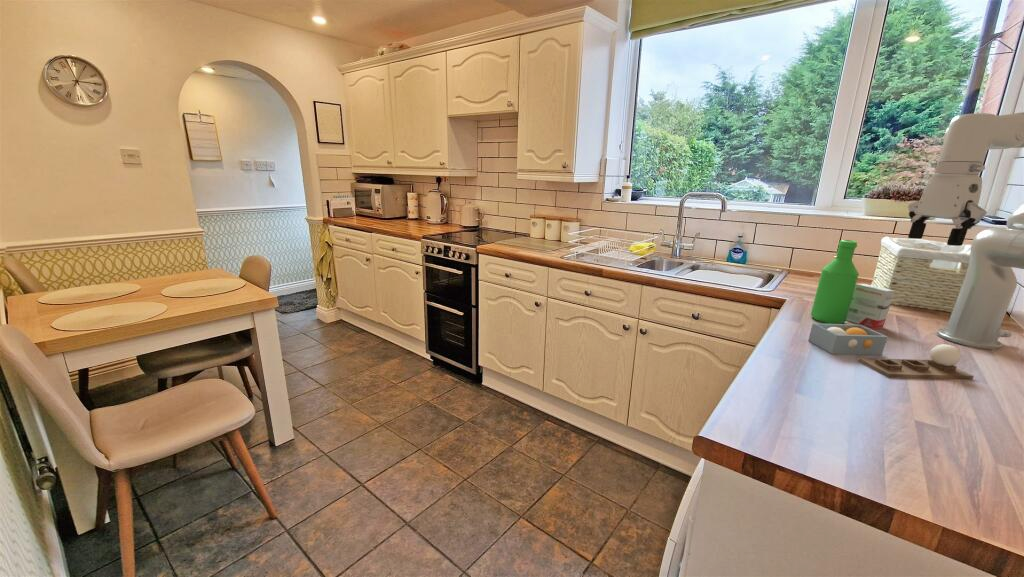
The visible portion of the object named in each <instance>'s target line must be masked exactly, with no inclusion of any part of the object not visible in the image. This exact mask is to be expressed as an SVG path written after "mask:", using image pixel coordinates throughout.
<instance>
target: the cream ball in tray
mask: <svg viewBox="0 0 1024 577" xmlns="http://www.w3.org/2000/svg"><path fill="white" fill-rule="evenodd" d="M827 330H829V331H831V332H833V333H835V334H837V335H847V334H846V332H845V331H844V330H843V329H841V328H838V327H830V328H828V329H827Z"/></svg>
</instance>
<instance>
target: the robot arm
mask: <svg viewBox="0 0 1024 577" xmlns="http://www.w3.org/2000/svg"><path fill="white" fill-rule="evenodd" d="M1018 148H1019V149H1023V148H1024V111H1023V112H1016V113H1010V114H999V115H996V114H994V113H985V112H983V113H982V112H981V113H977V112H976V113H966V114H959V115H956V116H955V117H953V118H952V119H951V121H950V122H949V124H948V127H947V129H946V130H945V132H944V135H943V144H942V148H941V151H940V153H939V157H938V160H937V163H936V167H935V168H934V172H933V175H931V176H930V178H929V180H928V181H927V183H926V185H925V187H924V189H923V191H922V194H921V197H920V199H919V200H917V201H914V202H911V203H909V204H908V205H907V208H908V216H909V217H910V223H912V224H911V226H910V230H909V234H908V236H907V239H923V236H924V234H925V230H926V227H927V223H926V222H927V220H929V219H930V218H934V219H935V218H936V219H944V220H951V221H952V223H953V225H954V227H955V228H954V227H953V228H952V229H951V230H950V232H949V233H950V234H949V236H948V239H947V242H946V243H947V245H952V246H961V245H962V244H964V241H965V238H966V236H967V233H968V230H971V229H972V228H973V227H975V226H976V225H978V223H980V222H981V221H980V220H982V219H983V218H984V217H985V216H986V215H987V213H988V212H987V211H986V210H985V209H984V208H983V207H981V206H979V203H980V199H981V196H982V195H981V194H982V189H983V187H982V186H983V177H981V176H980V173H981V172H984V171H985V169H986V166H985V165H984V162H985V158H986V156H987V153H988V150H1007V149H1018ZM970 245H971V250H970V261H969V266H968V269H967V273H966V276H965V279H964V281H963V284H962V287H961V289H960V292H959V295H958V298H957V300H956V303H955V306H954V309H953V311H952V313H951V315H950V317H949V320H948V323H947V325H946V328H944V327H943V328H939V329H937V331H936V335H937V336H938V337H941V338H942V339H944V340H947V341H950V342H953V343H956V344H960V345H963V346H968V347H972V348H978V349H984V350H1000V349H1002V346H1003V343H1002V342H1000V341H999V340H998V339H999V338H1010V337H1012V331H1011V330H1005V329H1001V327H1002V324H1003V321H1004V318H1005V316H1006V313H1007V311H1008V308H1009V307H1010V303H1011V301H1012V298H1013V296H1014V293H1015V292H1016V289H1017V286H1018V279H1017V276H1016V274H1015V271H1013V268H1015V269H1019V270H1020V269H1021V270H1024V202H1023V203H1021V205H1019V206H1018V207H1016V209H1015V210H1014V211H1013V212H1012V213H1011V214H1010V215H1009V216H1008V218H1007V221H1006V227H993V228H987V229H983V230H982V231H980V232H978V233H977V234H976V235H975V236H974V238H973V239H972V241H971V244H970Z"/></svg>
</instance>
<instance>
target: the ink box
mask: <svg viewBox="0 0 1024 577" xmlns="http://www.w3.org/2000/svg"><path fill="white" fill-rule="evenodd" d="M893 295H894V290H890V289H885V288H881V287H876V286H872V285H871V284H867V283H856V286H855V289H854V293H853V297H852V300H851V304H850V307H849V311H848V314H847V317H846V321H847V322H851V323H854V324H856V325H862V326H864V327H867V328H869V329H871V328H872V329H875V330H876V329H880V328H883V327H884V325H885V322H886V318H887V317H888V313H889V310H890V308H891V307H890V306H891V305H892V304H891V301H892V298H893Z"/></svg>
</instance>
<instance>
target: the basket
mask: <svg viewBox="0 0 1024 577" xmlns="http://www.w3.org/2000/svg"><path fill="white" fill-rule="evenodd" d="M880 245H881V247H880V250H879V256H878V259H877V260H878V261H877V263H876V265H875V267H876V268H875V271H874V276H873V278H872V281H871V284H870V285H872V286H876V287H881V288H885V289H890V290H894V295H893V298H892V301H891V304H890V305H891V306H892V305H893V306H902V307H910V308H920V309H927V310H928V311H936V310H937V311H939V312H940V311H941V312H946V313H949V312H950V313H951V314H952V311H953V309H954V306H955V303H956V300H957V298H958V295H959V292H960V289H961V287H962V284H963V281H964V279H965V276H966V273H967V269H968V266H969V261H970V250H971V244H967V243H966V244H965V243H963V244H962V245H961V246H952V245H947V242H942V241H937V240H929V239H923V238H921V239H912V238H908V237H906V238H904V237H903V238H902V237H890V236H885V237H883V238H881V241H880ZM950 313H949V314H950Z"/></svg>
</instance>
